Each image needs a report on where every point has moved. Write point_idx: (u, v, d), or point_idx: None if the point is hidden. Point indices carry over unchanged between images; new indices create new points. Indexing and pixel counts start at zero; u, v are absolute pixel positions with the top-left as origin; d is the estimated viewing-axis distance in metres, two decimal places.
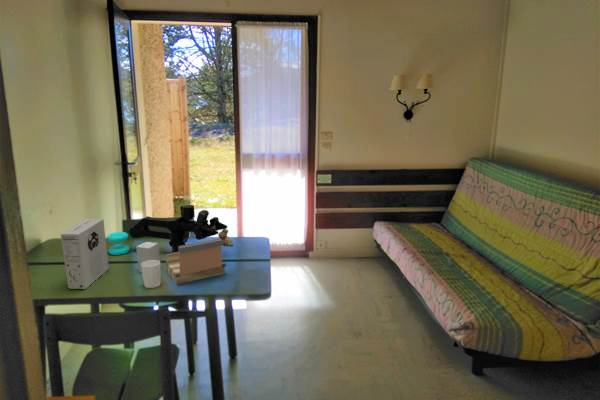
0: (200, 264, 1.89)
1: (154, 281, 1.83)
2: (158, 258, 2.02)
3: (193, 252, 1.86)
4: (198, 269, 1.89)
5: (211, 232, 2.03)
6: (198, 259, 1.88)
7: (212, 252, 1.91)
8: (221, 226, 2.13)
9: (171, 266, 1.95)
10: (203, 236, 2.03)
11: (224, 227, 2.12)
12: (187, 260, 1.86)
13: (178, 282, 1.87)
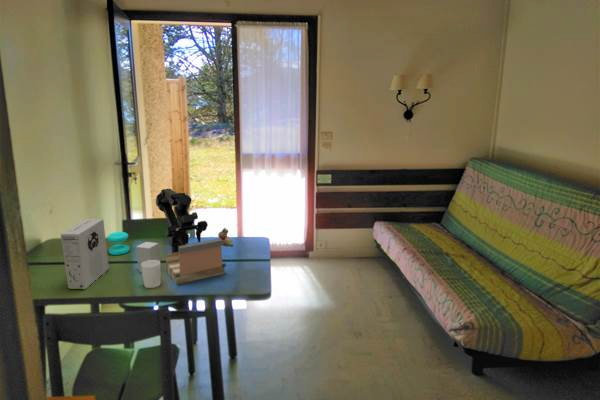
0: (200, 264, 1.89)
1: (154, 281, 1.83)
2: (158, 258, 2.02)
3: (193, 252, 1.86)
4: (198, 269, 1.89)
5: (180, 240, 1.97)
6: (198, 259, 1.88)
7: (212, 252, 1.91)
8: (197, 237, 2.02)
9: (171, 266, 1.95)
10: (173, 236, 1.99)
11: (198, 240, 2.01)
12: (187, 260, 1.86)
13: (178, 282, 1.87)
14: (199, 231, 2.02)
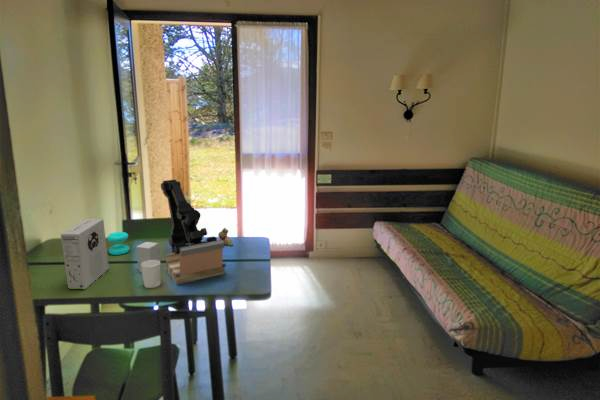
0: (200, 265, 1.89)
1: (154, 281, 1.83)
2: (158, 258, 2.02)
3: (194, 254, 1.85)
4: (198, 269, 1.89)
5: None
6: (198, 260, 1.87)
7: (213, 253, 1.90)
8: None
9: (171, 266, 1.95)
10: None
11: None
12: (188, 261, 1.85)
13: (178, 282, 1.87)
14: None
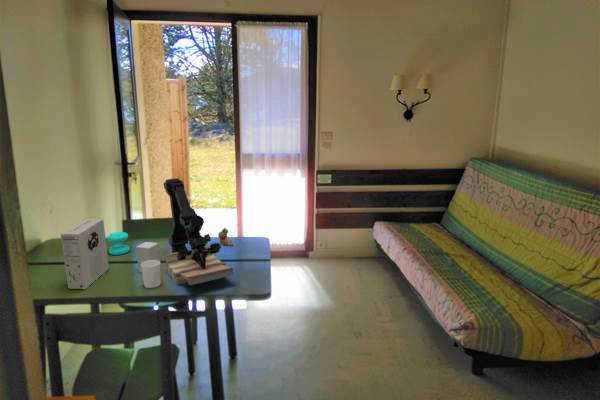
0: None
1: (154, 281, 1.83)
2: (158, 258, 2.02)
3: None
4: None
5: (199, 263, 1.88)
6: None
7: None
8: (202, 262, 1.89)
9: (171, 266, 1.95)
10: (192, 258, 1.89)
11: None
12: None
13: (178, 282, 1.87)
14: (204, 256, 1.89)
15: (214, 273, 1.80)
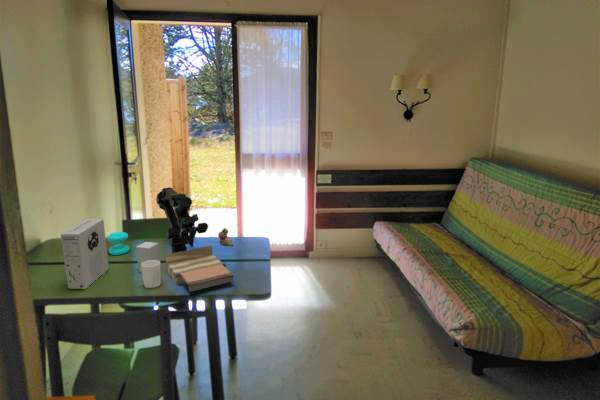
0: None
1: (154, 281, 1.83)
2: (158, 258, 2.02)
3: None
4: None
5: (187, 241, 1.99)
6: None
7: None
8: None
9: (171, 266, 1.95)
10: (181, 236, 2.00)
11: None
12: None
13: (178, 282, 1.87)
14: (192, 234, 2.00)
15: (215, 280, 1.81)
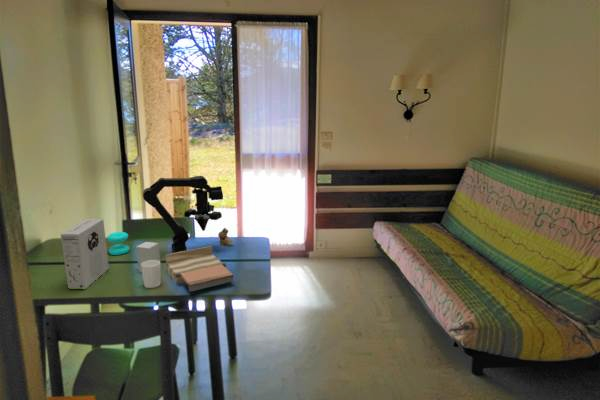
0: None
1: (154, 281, 1.83)
2: (158, 258, 2.02)
3: None
4: None
5: (205, 225, 2.20)
6: None
7: None
8: None
9: (171, 266, 1.95)
10: None
11: None
12: None
13: (178, 282, 1.87)
14: None
15: (215, 280, 1.81)
